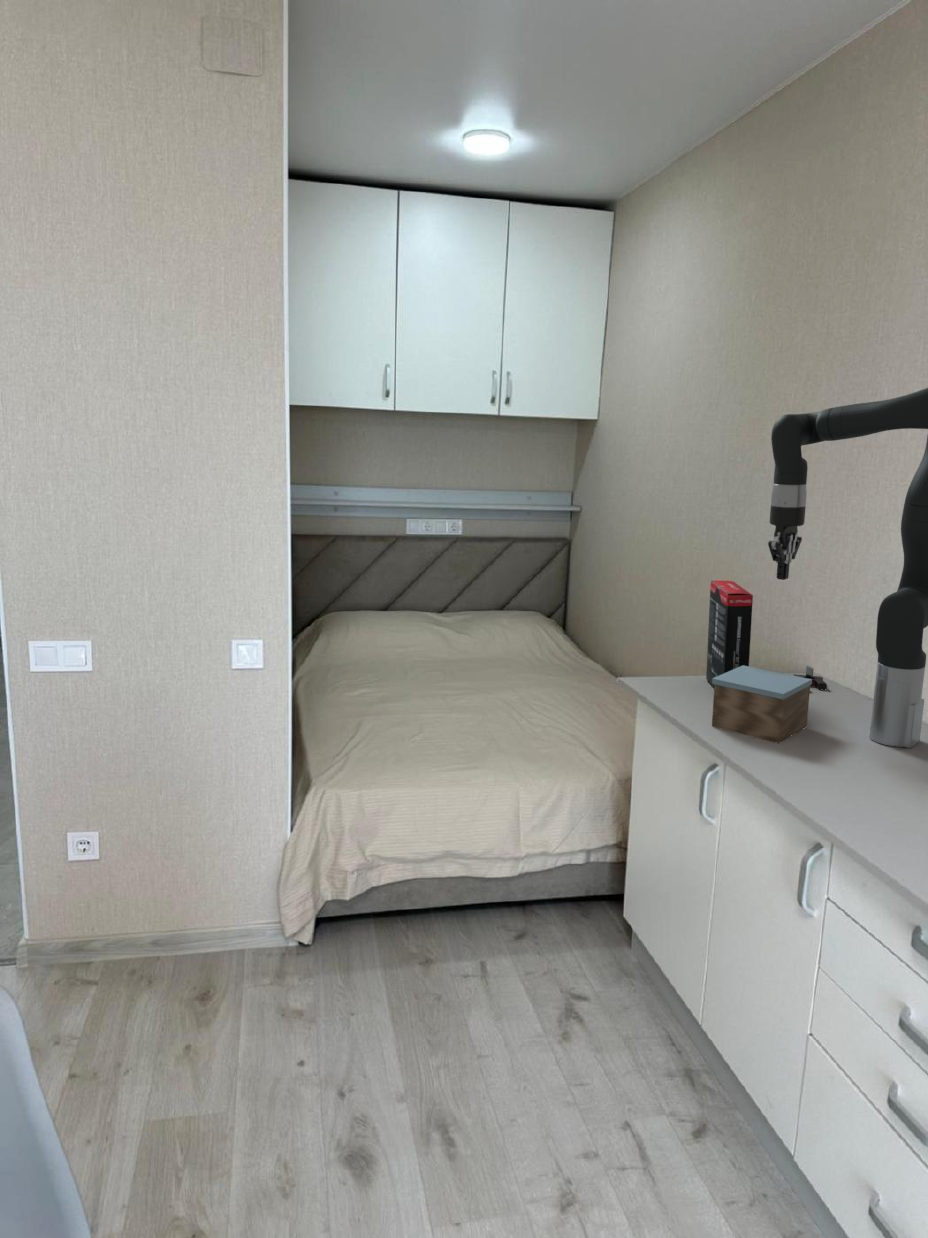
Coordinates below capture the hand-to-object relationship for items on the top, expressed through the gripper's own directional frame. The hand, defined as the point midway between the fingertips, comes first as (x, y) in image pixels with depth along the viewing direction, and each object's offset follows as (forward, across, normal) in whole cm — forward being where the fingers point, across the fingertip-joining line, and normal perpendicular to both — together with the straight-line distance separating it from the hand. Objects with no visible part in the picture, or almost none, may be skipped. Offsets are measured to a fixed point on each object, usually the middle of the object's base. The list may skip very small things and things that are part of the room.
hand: (782, 578), depth 207 cm
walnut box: (+32, -13, -3) cm, 35 cm away
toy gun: (+33, +23, +3) cm, 40 cm away
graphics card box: (+32, +7, +16) cm, 37 cm away
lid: (+22, -13, -3) cm, 26 cm away
